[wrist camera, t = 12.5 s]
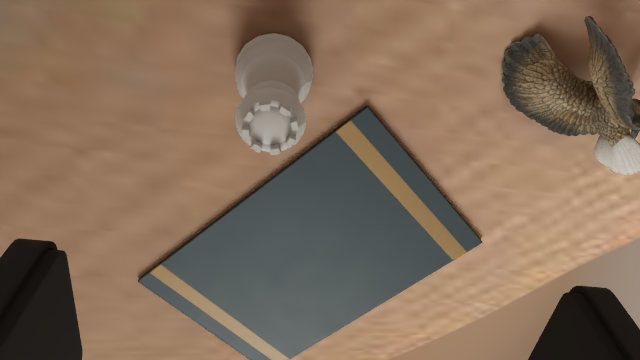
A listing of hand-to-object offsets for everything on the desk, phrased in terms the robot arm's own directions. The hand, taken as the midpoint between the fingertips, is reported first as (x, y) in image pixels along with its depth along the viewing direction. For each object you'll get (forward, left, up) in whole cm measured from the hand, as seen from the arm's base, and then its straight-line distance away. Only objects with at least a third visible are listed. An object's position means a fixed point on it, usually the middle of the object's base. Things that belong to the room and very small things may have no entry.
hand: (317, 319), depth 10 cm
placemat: (-3, +17, -22) cm, 27 cm away
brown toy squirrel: (-17, +1, -22) cm, 27 cm away
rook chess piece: (+1, +3, -22) cm, 22 cm away
